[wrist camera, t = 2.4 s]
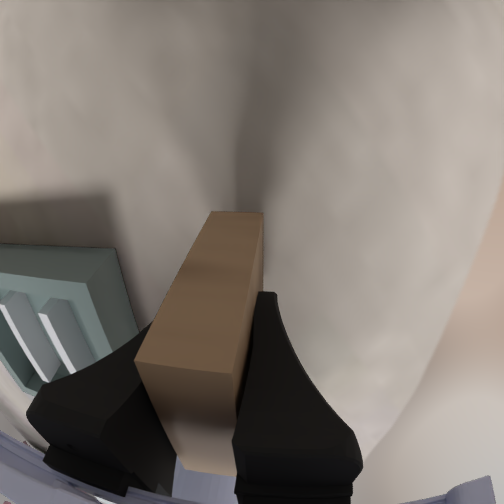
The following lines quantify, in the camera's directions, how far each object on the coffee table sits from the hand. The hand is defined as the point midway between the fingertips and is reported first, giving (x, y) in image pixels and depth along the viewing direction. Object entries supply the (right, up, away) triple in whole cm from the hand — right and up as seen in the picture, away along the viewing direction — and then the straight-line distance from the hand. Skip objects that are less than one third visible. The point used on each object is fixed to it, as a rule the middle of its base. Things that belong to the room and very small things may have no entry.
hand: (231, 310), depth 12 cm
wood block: (0, +1, +2) cm, 2 cm away
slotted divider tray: (-13, -3, +8) cm, 16 cm away
